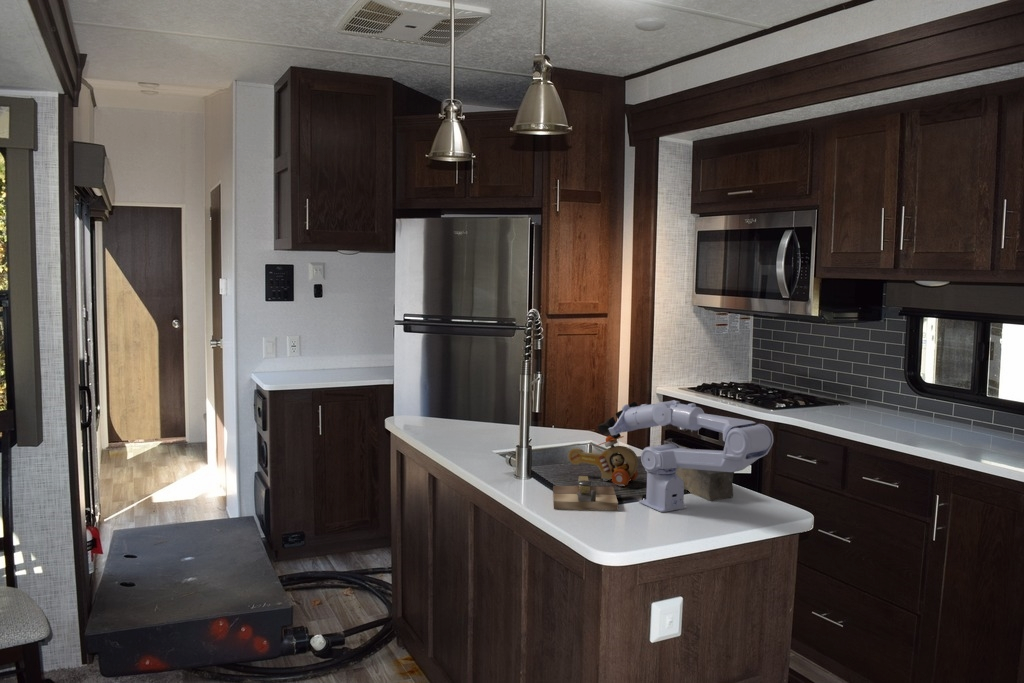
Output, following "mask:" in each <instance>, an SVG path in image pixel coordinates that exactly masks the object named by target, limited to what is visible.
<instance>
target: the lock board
mask: <svg viewBox="0 0 1024 683" xmlns="http://www.w3.org/2000/svg"><path fill="white" fill-rule="evenodd" d="M552 500H553V510H575V511H577V510H578V511H581V510H582V511H583V510H584V511H585V510H586V511H616V512H617V511H618V510H619V501H618V499H617V495H616V492H615V488H614V486H592V485H590V492H589V493H580V489H579V485H553V486H552Z"/></svg>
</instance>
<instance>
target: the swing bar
mask: <svg viewBox="0 0 1024 683" xmlns="http://www.w3.org/2000/svg"><path fill="white" fill-rule="evenodd" d="M578 486H579V489H580V493H589V492H590V486H592V482H591V481H590V480H589V476H587V475H585V476H584V475H579V476H578Z"/></svg>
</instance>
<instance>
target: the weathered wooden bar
mask: <svg viewBox="0 0 1024 683" xmlns="http://www.w3.org/2000/svg"><path fill="white" fill-rule="evenodd" d="M684 447H685V446H684ZM685 448H686V449H691V448H689V447H687V446H686V447H685ZM734 473H735V472H722V471H709V470H697V469H684V468H678V471H676V474H677V476H678V477H679V478H681V479H682V481H683V483H684V489H686V490H688V491H689V492H690V493H689V492H688V493H689V494H692V495H695V496H697V497H699V498H701V499H702V500H703V499H704V500H706V501H709V502H714V501H718V500H722V499H731V498H733V497H734V488H733V481H734V480H733V479H734Z"/></svg>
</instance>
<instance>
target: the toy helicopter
mask: <svg viewBox="0 0 1024 683" xmlns="http://www.w3.org/2000/svg"><path fill="white" fill-rule="evenodd" d="M624 437H625V436H624V435H622V436H620V437H619V438H618V439H614V438H613V437H611V436H610V435H608V436H606V438H605V442H602V443H599V444H597V445H596V447H599V446H602V445H603V444H604V446H605V447H606V448H607V449H605V450H604V451H602V453H596V452H595V453H594V452H585V451H584V450H583V449H582V448H579V447H576V448H572V449H571V450H569V451H568V454H567V458H568V461H569V463H571V464H572V465H573V466H580V465H581V464H585V465H586V464H587V465H592V466H596V467H598V470H599V471H600V472H601V479H602V478H606V479H612V480H611V482H612V484H614V483H617V484H624V485H626V486H627V485H628V484H629V483H630V482H629V480H630V479H631V480H633V481H635V480H636V479H637V478H638V466H639V460H638V456H637V454H636V452H635V451H634V450H633V449H631V448H630V447H627V446H624V445H615V444H617V443H619V441H618V440H619V439H622V438H624ZM608 447H609V448H608ZM634 479H635V480H634Z"/></svg>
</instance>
